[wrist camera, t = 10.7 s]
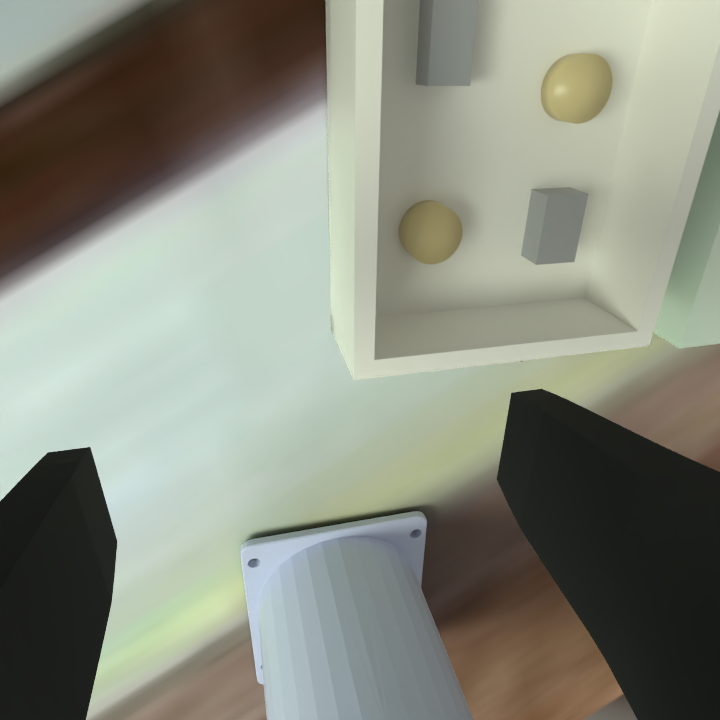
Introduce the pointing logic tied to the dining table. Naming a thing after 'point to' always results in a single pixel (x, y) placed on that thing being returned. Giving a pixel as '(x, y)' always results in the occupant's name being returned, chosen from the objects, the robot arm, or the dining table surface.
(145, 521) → the dining table surface
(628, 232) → the parts tub
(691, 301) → the lid
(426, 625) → the robot arm
